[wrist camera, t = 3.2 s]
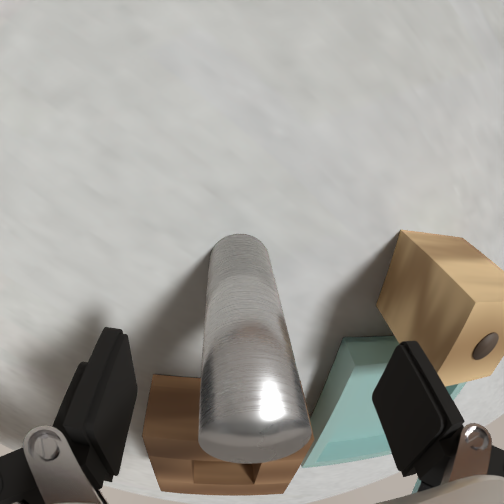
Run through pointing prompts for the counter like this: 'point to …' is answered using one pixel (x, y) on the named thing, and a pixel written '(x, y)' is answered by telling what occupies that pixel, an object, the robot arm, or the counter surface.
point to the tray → (353, 404)
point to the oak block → (446, 304)
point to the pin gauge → (248, 361)
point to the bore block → (193, 456)
